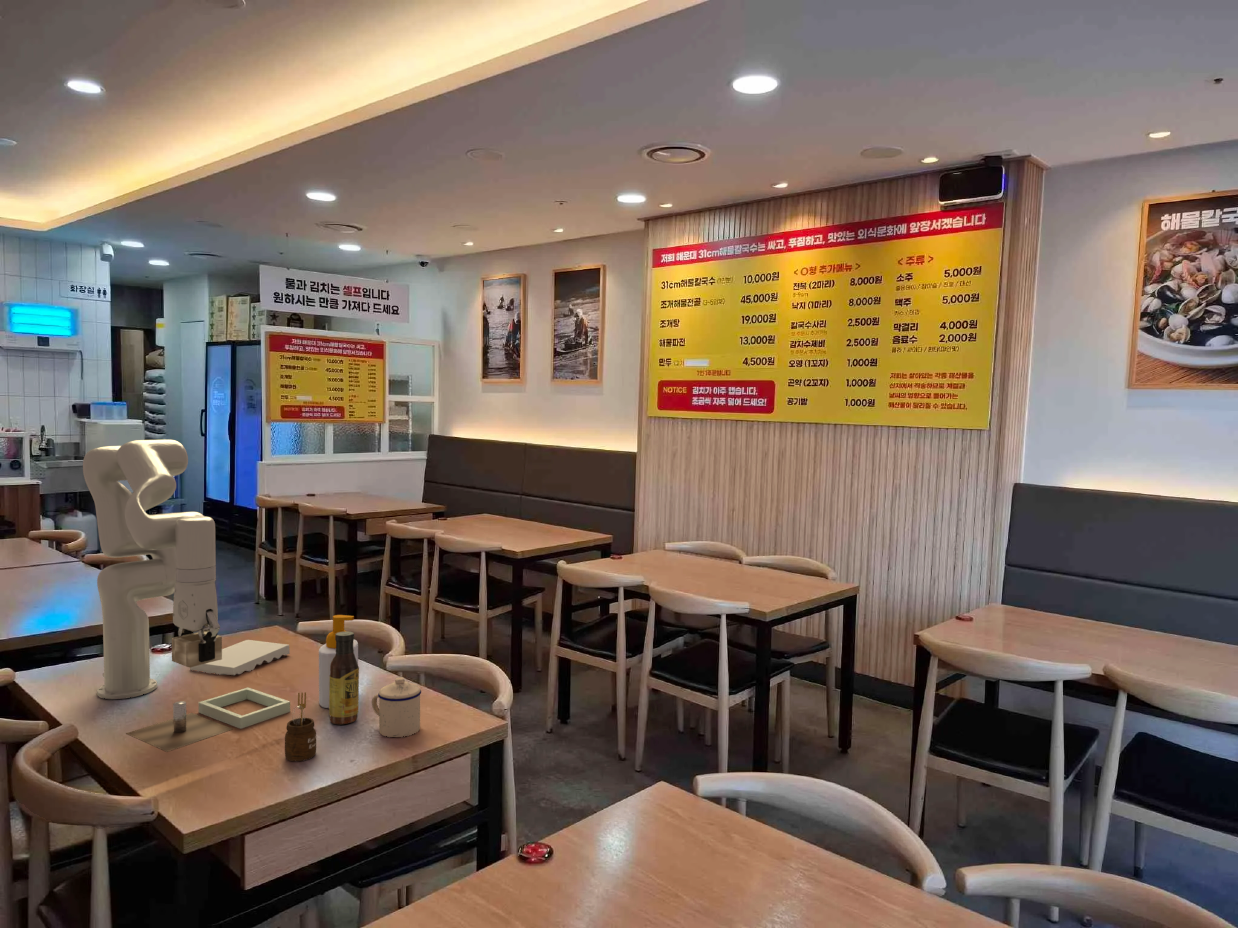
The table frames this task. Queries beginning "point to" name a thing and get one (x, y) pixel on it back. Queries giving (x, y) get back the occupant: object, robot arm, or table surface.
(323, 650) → the soap bottle
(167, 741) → the stake board
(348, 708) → the sauce bottle
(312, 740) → the utensil holder
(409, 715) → the teacup with lid
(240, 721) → the tray
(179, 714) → the cylinder
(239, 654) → the cream wavy-edged slab
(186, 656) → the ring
